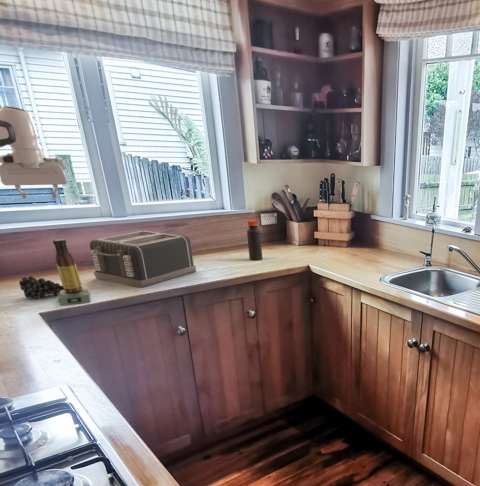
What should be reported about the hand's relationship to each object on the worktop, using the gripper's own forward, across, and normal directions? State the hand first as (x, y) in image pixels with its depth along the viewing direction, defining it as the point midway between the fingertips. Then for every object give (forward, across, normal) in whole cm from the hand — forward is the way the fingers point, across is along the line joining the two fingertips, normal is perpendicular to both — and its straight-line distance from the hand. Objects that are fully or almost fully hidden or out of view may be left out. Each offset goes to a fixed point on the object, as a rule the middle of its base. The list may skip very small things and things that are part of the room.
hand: (40, 197), depth 174 cm
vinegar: (+37, -86, -28) cm, 98 cm away
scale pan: (+34, -4, +12) cm, 36 cm away
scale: (+37, -4, +12) cm, 39 cm away
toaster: (+37, -30, -15) cm, 50 cm away
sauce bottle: (+34, -4, +12) cm, 36 cm away
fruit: (+37, +7, +2) cm, 38 cm away
